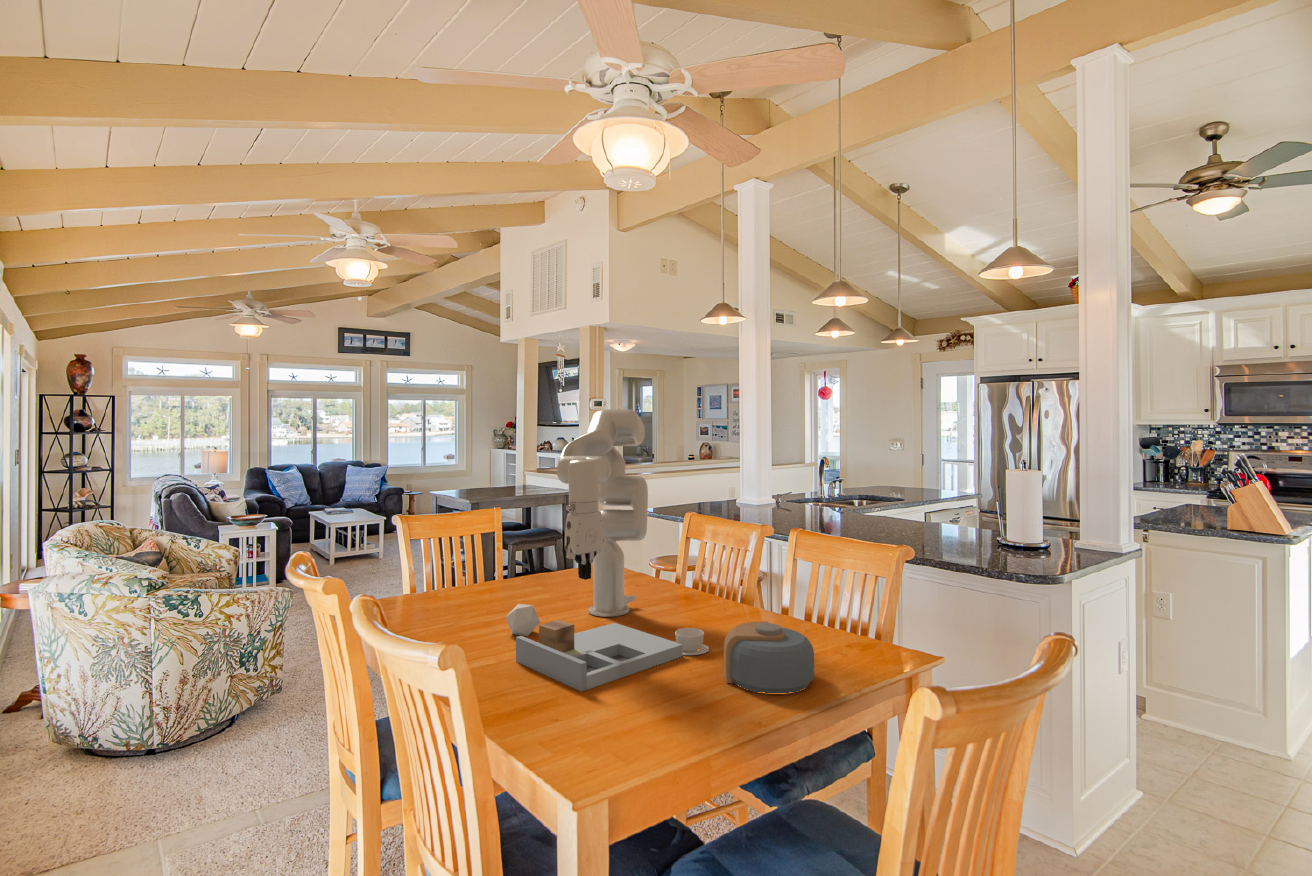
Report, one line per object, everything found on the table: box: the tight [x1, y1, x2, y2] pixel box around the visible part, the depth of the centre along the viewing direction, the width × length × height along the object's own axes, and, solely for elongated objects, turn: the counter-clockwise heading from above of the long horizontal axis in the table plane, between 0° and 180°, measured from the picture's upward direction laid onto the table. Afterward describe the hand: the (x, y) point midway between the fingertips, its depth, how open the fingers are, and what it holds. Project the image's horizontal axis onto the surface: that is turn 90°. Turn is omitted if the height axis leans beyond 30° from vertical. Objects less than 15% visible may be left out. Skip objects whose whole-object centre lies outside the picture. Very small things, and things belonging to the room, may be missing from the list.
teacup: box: [674, 627, 710, 656], centre depth 170 cm, size 10×10×5 cm
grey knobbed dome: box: [723, 620, 815, 693], centre depth 150 cm, size 19×20×12 cm
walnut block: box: [538, 619, 575, 653], centre depth 162 cm, size 6×6×6 cm
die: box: [505, 603, 541, 637], centre depth 184 cm, size 8×9×10 cm
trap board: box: [515, 622, 684, 692], centre depth 163 cm, size 32×26×6 cm
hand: (584, 578), depth 171 cm, fingers closed
